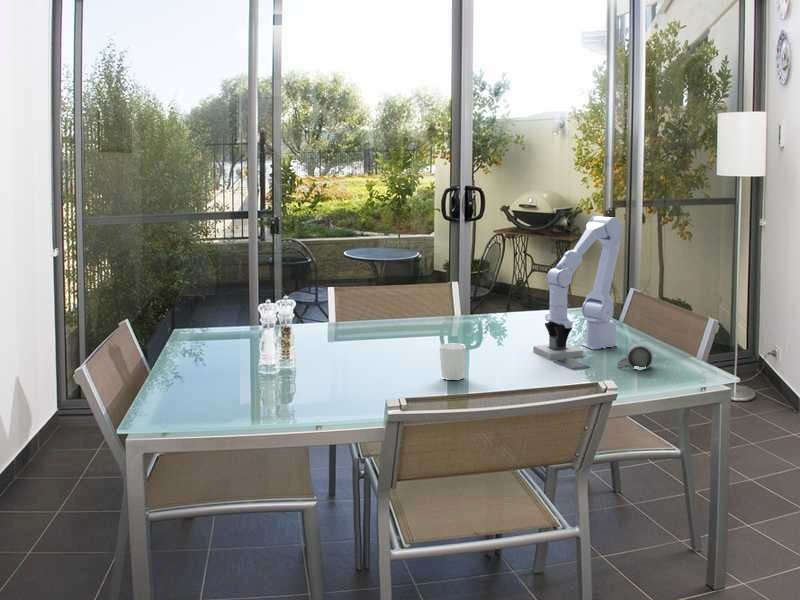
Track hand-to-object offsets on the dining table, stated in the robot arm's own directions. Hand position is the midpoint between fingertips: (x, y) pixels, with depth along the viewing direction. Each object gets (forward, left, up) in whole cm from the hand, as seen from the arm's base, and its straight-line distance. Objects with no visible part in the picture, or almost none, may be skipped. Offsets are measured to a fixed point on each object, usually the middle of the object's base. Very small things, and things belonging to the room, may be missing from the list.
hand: (558, 345), depth 309 cm
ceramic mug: (-13, +25, -3) cm, 28 cm away
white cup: (+43, +14, -3) cm, 45 cm away
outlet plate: (0, 0, -3) cm, 3 cm away
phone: (+3, +14, -3) cm, 15 cm away
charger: (0, 0, -3) cm, 3 cm away
